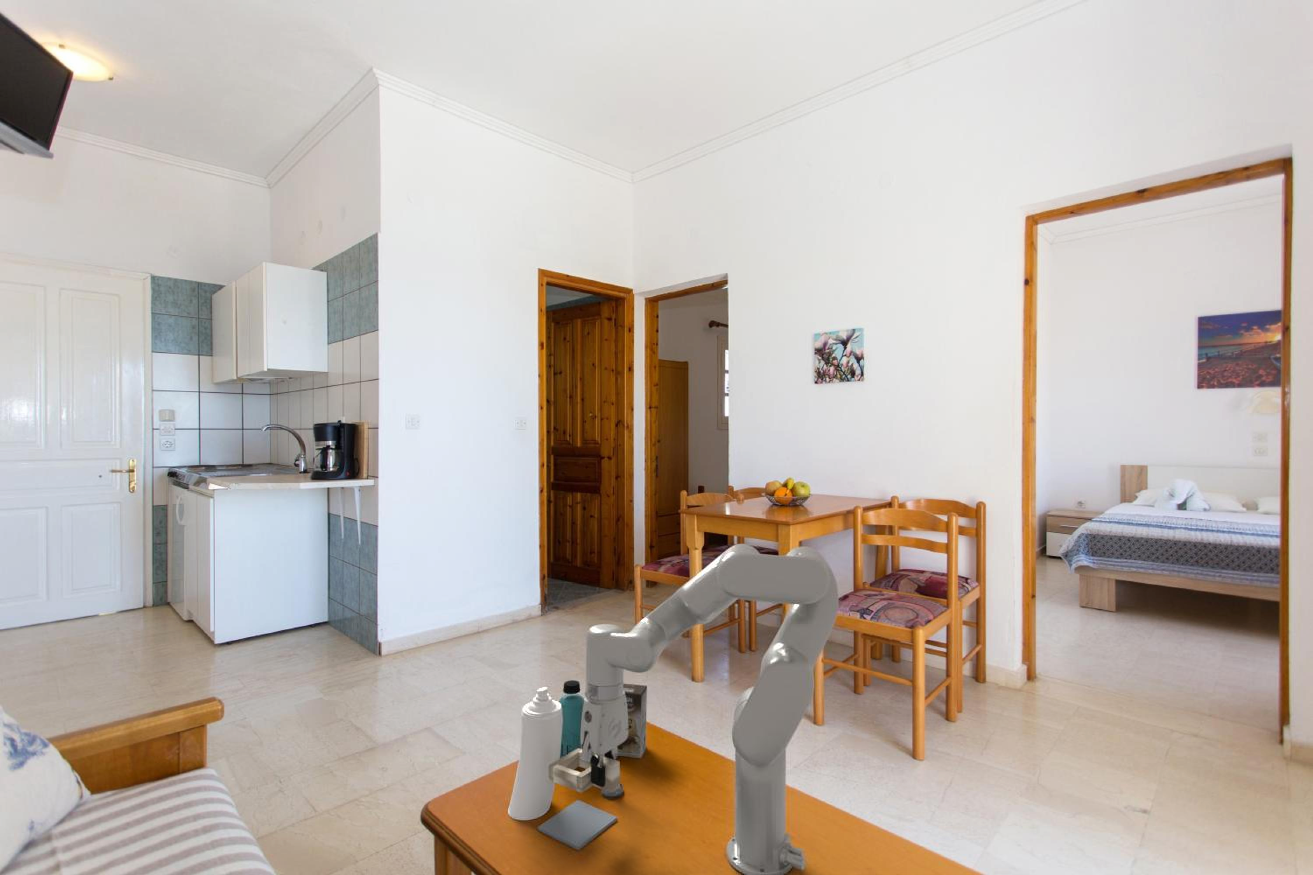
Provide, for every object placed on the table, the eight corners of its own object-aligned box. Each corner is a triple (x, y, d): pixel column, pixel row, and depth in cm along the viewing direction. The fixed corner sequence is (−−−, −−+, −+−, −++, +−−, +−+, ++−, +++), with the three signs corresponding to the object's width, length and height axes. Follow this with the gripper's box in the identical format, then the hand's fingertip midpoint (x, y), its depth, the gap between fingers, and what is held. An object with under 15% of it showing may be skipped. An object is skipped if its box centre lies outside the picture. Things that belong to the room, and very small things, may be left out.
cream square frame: (630, 779, 128) (629, 754, 129) (601, 800, 121) (600, 773, 121) (578, 762, 136) (578, 738, 137) (548, 780, 129) (548, 755, 129)
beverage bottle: (587, 757, 158) (587, 677, 158) (581, 771, 152) (582, 687, 152) (561, 756, 159) (562, 676, 159) (555, 770, 152) (555, 686, 152)
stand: (627, 790, 143) (627, 708, 143) (613, 800, 139) (613, 716, 139) (610, 783, 146) (610, 702, 146) (596, 793, 142) (596, 710, 142)
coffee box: (605, 754, 160) (606, 690, 160) (613, 743, 166) (613, 681, 166) (641, 759, 158) (641, 694, 158) (647, 746, 164) (647, 684, 164)
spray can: (521, 788, 144) (522, 678, 144) (567, 792, 143) (567, 681, 143) (501, 818, 133) (502, 698, 133) (550, 823, 131) (551, 701, 131)
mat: (617, 819, 132) (617, 816, 132) (578, 850, 123) (578, 846, 123) (577, 802, 139) (577, 799, 139) (537, 829, 129) (537, 826, 129)
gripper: (592, 707, 118) (590, 806, 118) (643, 680, 131) (641, 770, 131) (562, 697, 122) (561, 792, 122) (615, 672, 135) (613, 759, 135)
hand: (602, 780), depth 127 cm, fingers closed on cream square frame
